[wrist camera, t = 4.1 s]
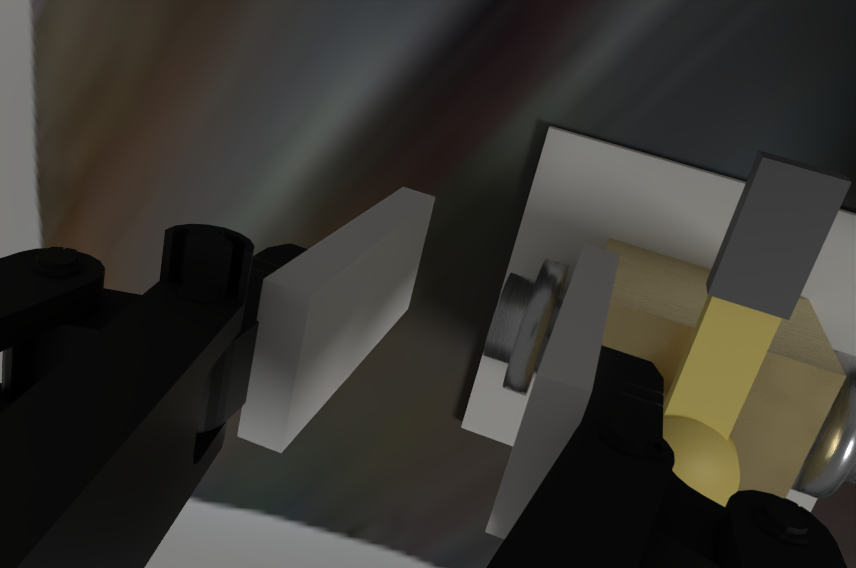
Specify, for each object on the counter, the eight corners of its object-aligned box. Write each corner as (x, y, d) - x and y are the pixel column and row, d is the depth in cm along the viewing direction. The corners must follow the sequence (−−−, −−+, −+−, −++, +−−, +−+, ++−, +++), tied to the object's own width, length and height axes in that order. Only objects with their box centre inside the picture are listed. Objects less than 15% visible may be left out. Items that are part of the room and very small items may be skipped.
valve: (533, 214, 41) (491, 277, 31) (894, 325, 38) (971, 433, 28) (489, 363, 45) (438, 462, 35) (816, 477, 41) (861, 621, 32)
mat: (550, 125, 40) (548, 127, 40) (945, 238, 37) (950, 242, 36) (463, 422, 47) (461, 427, 46) (790, 541, 44) (791, 547, 43)
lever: (735, 143, 27) (738, 150, 26) (868, 181, 26) (878, 189, 25) (605, 478, 32) (602, 498, 31) (713, 517, 32) (714, 539, 30)
